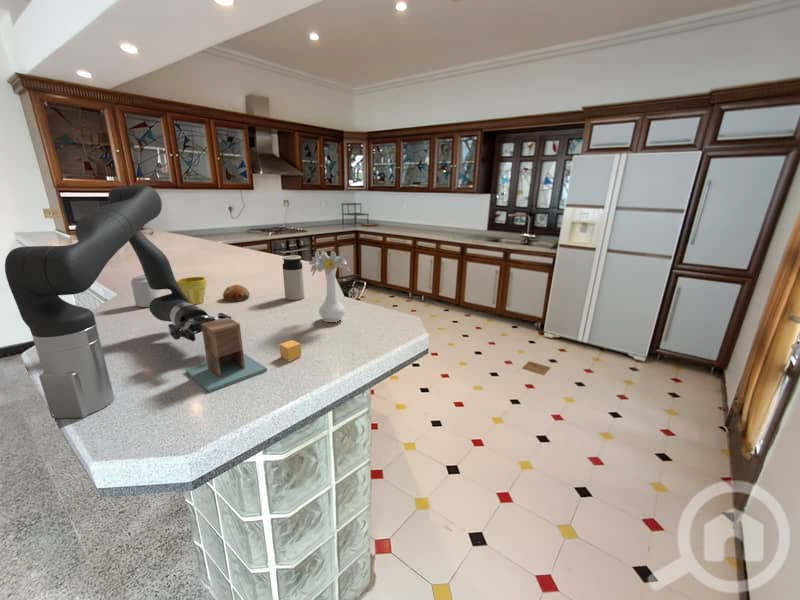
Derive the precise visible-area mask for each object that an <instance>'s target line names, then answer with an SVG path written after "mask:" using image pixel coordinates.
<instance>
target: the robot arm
mask: <svg viewBox="0 0 800 600" xmlns="http://www.w3.org/2000/svg"><path fill="white" fill-rule="evenodd" d="M107 199H108V202H109V204H106V205H102V206H99V207H97V208H95V209H93V210H91V211H89V212H88V213H87V214H85V215H84V216H82V217H81V218H80V219H79V220H78V221H77V223H76V225H75V228H74V233H75V237H76V239H77V242H75V243H72V244H66V245H35V246H34V245H32V246H31V245H30V246H18V247H15V248H13V249H11V250H10V251H9V252H8V253H7V255H6V256H5V257H6V258H5V261H4V273H5V277H6V281H7V283H8V286H9V289H10V291H11V293H12V296H13V299H14V301H15V304H16V307H17V309H18V311H19V314H20V317H21V319H22V321H23V322H24V323H25V324H26V326H27V327H28V328H29V331H30V333H31V336H32V340H33V343H34V347H35V350H36V354H37V357H38V358H39V363H40V366H41V368H42V369H41V370H42V373H40V374H39V376H38V378H39V381H40V384H41V389H42V390H43V393H44V396H45V400H46V403H47V406H48V410H49V413H50V416H51V418H52V419H74V418H75V419H80V418H86V417H88V415H90V414H93V413H96V412H99V410H102V409H104V408H105V406H106V407H107V406H109V405H110V404H112V402H113V401H114V399H115V394H114V392H113V391H114V390H113V387H112V382H111V380H110V379H111V378H110V375H109V371H108V367H107V362H106V359H105V354H104V350H103V346H102V343H101V338H100V334H99V329H98V326H97V323H96V318H95V314H94V313H93V311H92V310H91V309H90V308H87V307H83V306H79V305H76V304H73V303H70V302H67V301H65V300H64V299H62V298H61V297H60V296H68V295H69V296H71V295H78V294H82V293H84V292H85V291H86V292H87V290H89V289H90V288H91V287H92V286H93V285H94V283H95V281H96V280H97V279H98V277H99V276H100V275H101V273H102V271H103V270H104V268H105V267H106V265H107V264H108V263H109V261H110V260H111V259H112V258H113V257H114V256H115V254H117V252H119V250H121V249H122V248H123V247H124V246H125V245H126V244H127V243H128V242H129V244H130V246H131V247H132V249H133V251H134V253H135V254H136V257H137V258H138V260H139V263H140V265H141V268H142V271H143V275H145V276H146V279H147V282H148V284H149V286H150V288H151V289H154V290H157V291H158V290H159V291H160V290H169V291H170V292H171V293H168V294H165V295H162V296H158V297H157V298H155V299H153V300H152V301H151V302H150V306H149V307H148V308H149V311H150V313H151V314H152V316H153V317H154V318H156V319H157V320H159V321H162V322H170V324H168V325H167V326H168V332H169V335H170V336H171V337H172V339H174V340H180V339H181V338H182V339H186V340H188V341H191V342H194V341H196V335H197V334H200V333H202V327H201V324H203V323H207V322H211V321H215V320H220V319H224V318H230V319H232V317H231V316H230V315H227V314H224V313H223V312H219V313H218V314H217V316H212V315H209V314H208V313H207V311H205V309H202V308H200V307H199V306H197V305H196V304H194V305H193V304H190V302H189V299H188V298H187V296H186V295H185V294H184V293H183V291H182V290H181V288H180V287H179V285H178V284H177V282H176V281H177V279H175V278H176V277H175V275H174V271H173V269H172V267H171V263H170V261H169V259H168V257H167V255H165V253H164V252H163V251H162V250H161V249H160V248H159V247H158V246H156V245H155V244H154V243H153V242H152V241H150V239H148V238H147V236H146V235H145V234H144V233H143V232H142V231H141V229H142V228H143V227H144V226H145V225H146V224H148V223H150V222H151V221H153V220H154V219H156V218H158V216H159V215H160V214H161V211H162V207H163V204H162V202H163V201H162V198H161V195H160V194H159V193H158V192H157V191H156V189H154V188H153V187H151V186H148V185H144V184H143V185H142V184H139V185H130V186H127V185H126V186H119V187H113V188H111V189H109V192H108V198H107ZM171 322H172V323H171ZM52 414H53V415H54V416H53V415H52Z"/></svg>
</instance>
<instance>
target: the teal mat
mask: <svg viewBox="0 0 800 600" xmlns="http://www.w3.org/2000/svg"><path fill="white" fill-rule="evenodd" d="M243 355H244V363H245V368H244V369H242V368H241V367H239V366H238V365H236V364H235V363H233V362H231V363H228V364H225V365H221V366H220V370H221V377H218V376H216V375H215V374H214V373H213V372H211V371H210V370H209V369H208V365H207V362H205V363H201V364H199V365H196V366H191V367H188V368H186V369H185V371H186V374H188V375H189V376H190V378H192V379H193V381H195V382H196V383H197V384H199V386H201V388H203V389H204V390H205V391H206V392H207V393H209V394H210V393H212V392H215V391H218V390H221V389H223V388H226V387H228V386H231V385H233V384H236V383H239V382H241V380H242V381H244V380H247V379H250V378H252V377H255V376H257V375H260V374H263V373H266V372H268V368H267V367H266V366H264V365H263V364H261V363H260V362H258V361H256V360H255V359H253V358H252V357H250V356H248V354H246V353H244V352H243ZM246 378H247V379H246Z"/></svg>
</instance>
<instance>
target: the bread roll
mask: <svg viewBox="0 0 800 600" xmlns="http://www.w3.org/2000/svg"><path fill="white" fill-rule="evenodd" d="M222 297H223V300H224V301H225V302H228V301H230V302H231V303H238V302H245V301H247V300H248V299H249V297H250V292H249V290H248V288H247V287H245V286H243V285H241V284H233V285H230V286H227V287H226V288H225V290H224V291H223V293H222Z"/></svg>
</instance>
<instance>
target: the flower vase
mask: <svg viewBox="0 0 800 600" xmlns="http://www.w3.org/2000/svg"><path fill="white" fill-rule="evenodd" d="M347 263H348V262H347V260H346V257H345V256H343V252H342V251H340V254H339V255H338V256H337V253H336V251H334V250H332V251H331V252H330V255H328V253H327V252H326V251H324V250H322V251H321V253H320V252H319V251H316V252H315V253H314V256H312V257H311V261H309V262H308V264H309V265H310V266H311V268H310V272H312V277H314V275H315V273H316V272H319V273H320V272H322V271H324V273H325V278H326V279H325V280H326V297H325V300H324V302H323V303H322V304H321V306H320V307H319V308H318V315H319V316H320V317H321V318H322V319H323V322H325V321H326V322H325V323H327V322H336V321H339V320H342V318H343V317H344V316H345V314H346V307H345V306H344V305H343V303H341V302H340V300H339V298H338V295H337V288H336V275H337V274H336V273H337V270H338V268H345V269H346V270H347V271H349V272H351V270H350V268H349V267H348V266H347ZM339 322H340V321H339ZM336 323H337V322H336Z"/></svg>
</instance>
